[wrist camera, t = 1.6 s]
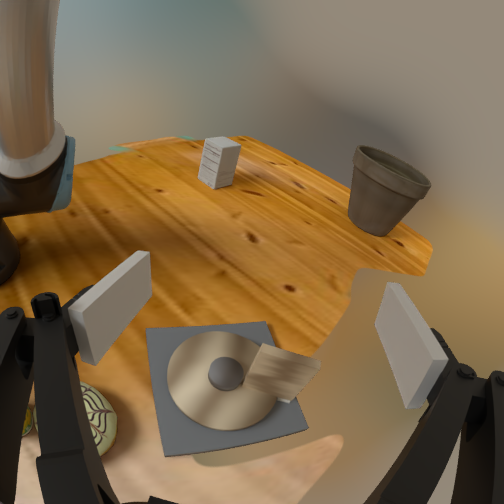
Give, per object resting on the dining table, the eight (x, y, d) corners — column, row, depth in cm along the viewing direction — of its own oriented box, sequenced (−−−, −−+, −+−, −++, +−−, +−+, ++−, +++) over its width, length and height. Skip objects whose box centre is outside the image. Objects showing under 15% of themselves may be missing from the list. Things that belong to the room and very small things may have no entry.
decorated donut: (99, 479, 23) (93, 475, 21) (29, 433, 23) (17, 425, 21) (131, 413, 31) (128, 403, 29) (63, 376, 31) (56, 362, 29)
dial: (149, 405, 32) (146, 369, 26) (190, 321, 44) (198, 274, 38) (280, 448, 31) (313, 424, 25) (296, 357, 43) (324, 317, 37)
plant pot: (320, 214, 85) (348, 147, 72) (343, 194, 103) (366, 140, 90) (394, 258, 77) (432, 193, 64) (403, 229, 95) (431, 176, 82)
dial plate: (146, 332, 41) (145, 327, 40) (263, 324, 48) (266, 320, 48) (164, 456, 28) (164, 455, 27) (305, 430, 35) (309, 427, 34)
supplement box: (215, 174, 88) (224, 135, 81) (232, 185, 85) (242, 145, 77) (196, 178, 83) (204, 137, 75) (213, 190, 80) (223, 147, 72)
